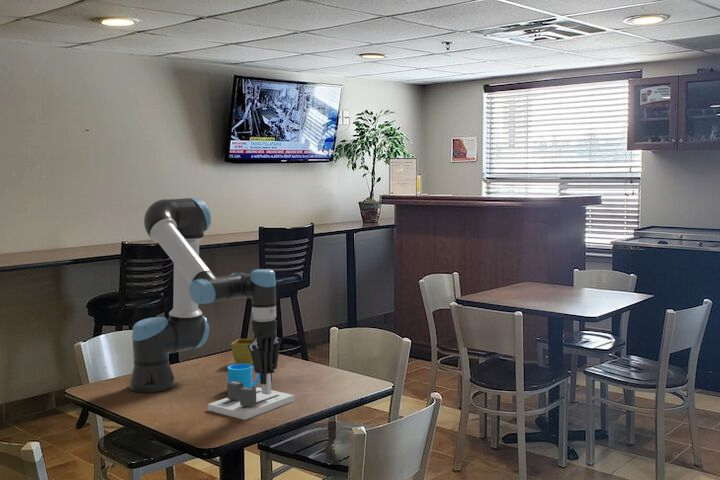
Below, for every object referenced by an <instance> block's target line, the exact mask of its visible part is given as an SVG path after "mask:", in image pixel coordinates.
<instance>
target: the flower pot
mask: <svg viewBox="0 0 720 480" xmlns="http://www.w3.org/2000/svg"><path fill="white" fill-rule="evenodd" d="M253 342H254V338H238V339H236V340H235V341H233V342H231V343H230V347H231V350H232V351H231V352H232V357H233V359H234V361H235V364H250V365H252V366H253V361H252V356H251V352H250V350H249V348H248V345H249V344H252V343H253Z"/></svg>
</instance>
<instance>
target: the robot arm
mask: <svg viewBox="0 0 720 480" xmlns="http://www.w3.org/2000/svg"><path fill="white" fill-rule="evenodd" d="M211 224H212V215H211V211H210V209H209V207H208V205H207V203H205V201H203V199H200V198H194V197H193V198H192V197H191V198H190V197H185V198H170V199H166V198H164V199H159V200H157V201H154V202H153V203H152V204H151V205H150V206H148V208H147V210H146V211H145V213H144V217H143V225H144V229H145V231H146V233H147V235H148V236H149V238H150V239H151V240H152V241H153V242H154V243H158V244H159V246H160V247H161V248H162V250H163V251H164V252H165V253H166V254H167V256H168V257H169V258H170V260H171V261H172V262H173V302H172V303H173V305H172V306H173V307H172V309H171V310H170V311H169V312H168V318H167V317H165V316H155V317H148V318H143V319H141V320H139V321H137V322H135V323H134V325H133V327H132V335H131V338H132V350H133V353H132V354H133V368H132V373H131V377H130V380H129V390H130V391H131V392H136V393H140V394H141V393H143V394H146V393H158V392H163V391H167V390H170V389H173V388H174V387H175V386H176V379H175V376H174V373H173V370H172V368H171V365H170V360H169V359H170V357H169V354H174V353H178V352H184V351H188V350H189V351H191V350H194V349H198V348H200V347H203V345H204V344H205V343H206V342H207V341H208V338H209V334H210V327H209V326H210V324H209V323H208V320H207V317H206V316H204V315H203V312H202V310H201V309H200V308H199V305H201V304H202V305H203V304H205V305H207V304H211V303H216V302H217V303H218V302H222V301H231V300H235V299H237V300H238V299H242V298H243V299H250V300H251V318H252V321H251V322H252V324H251V325H252V332H253V334H254V336H253V339H254V342H253V343H252V344H249V345H248V348H249V350H250V352H251V356H252V361H253V364H252V367H254V369H253V370H254V373H256V374H257V373H259V374H260V380H259V381H260V384H261V388H262V394H267V395H269V394H271V390H272V381H273V374H274V373H275V370H277V368H278V361H279V355H280V348H281V347H280V346H281V344H282V341H283V340H282V337H278V336H277V334H276V331H278V330H277V329H278V326H277V325H278V323H277V322H278V321H277V319H276V318H277V281H276V272H275V271H274V270H273V269H269V268H267V269H266V268H259V269H253V270H252V271H251V273H249V274H248V273H244V272H232V273H231V274H229V275H223V276H215V274H214V273H213V272H212V271H211V269H210V268H209V267H208V265H207V264H206V263H205V261H204V260H202V258H201V257H200V242H201V241H202V240H203V239H204V235H205V233H204V232H206V231H208V230H209V229H210V226H211Z"/></svg>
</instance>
